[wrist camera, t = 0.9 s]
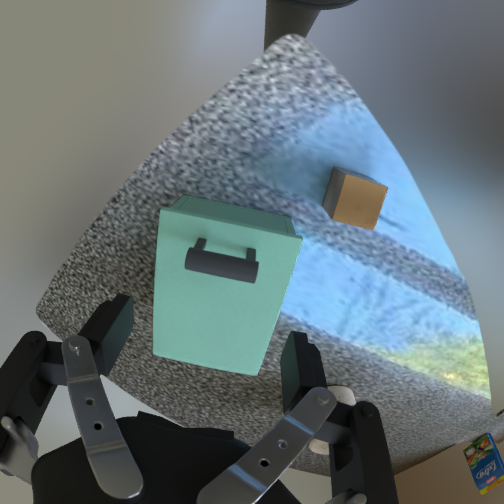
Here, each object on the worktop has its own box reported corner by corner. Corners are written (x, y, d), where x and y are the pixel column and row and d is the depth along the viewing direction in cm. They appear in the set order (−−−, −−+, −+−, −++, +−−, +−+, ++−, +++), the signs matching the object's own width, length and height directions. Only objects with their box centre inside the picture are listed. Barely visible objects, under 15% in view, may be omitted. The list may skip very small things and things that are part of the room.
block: (333, 166, 28) (345, 173, 24) (371, 178, 28) (388, 187, 24) (321, 206, 30) (331, 219, 26) (359, 216, 30) (373, 231, 26)
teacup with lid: (300, 414, 45) (305, 469, 35) (306, 385, 42) (314, 447, 31) (362, 408, 45) (375, 459, 34) (375, 378, 41) (394, 434, 31)
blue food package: (490, 432, 62) (509, 477, 40) (467, 450, 67) (483, 494, 44) (486, 432, 61) (505, 478, 38) (462, 450, 66) (479, 496, 43)
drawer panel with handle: (162, 206, 22) (141, 226, 18) (302, 235, 23) (311, 262, 19) (154, 349, 29) (142, 381, 25) (257, 371, 30) (256, 404, 26)
